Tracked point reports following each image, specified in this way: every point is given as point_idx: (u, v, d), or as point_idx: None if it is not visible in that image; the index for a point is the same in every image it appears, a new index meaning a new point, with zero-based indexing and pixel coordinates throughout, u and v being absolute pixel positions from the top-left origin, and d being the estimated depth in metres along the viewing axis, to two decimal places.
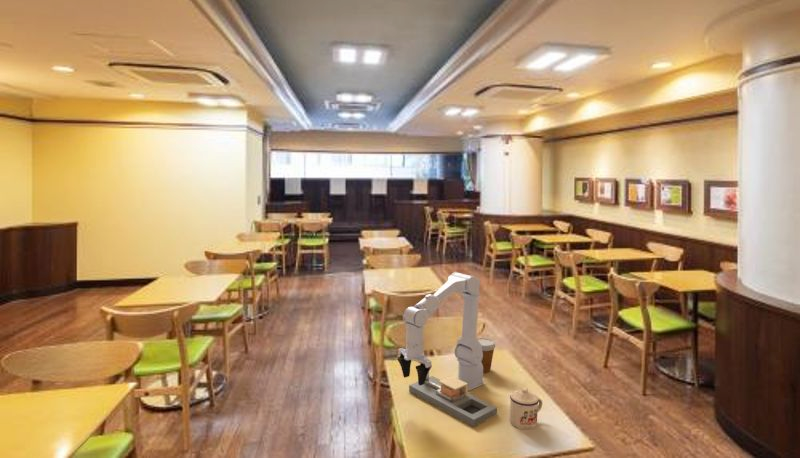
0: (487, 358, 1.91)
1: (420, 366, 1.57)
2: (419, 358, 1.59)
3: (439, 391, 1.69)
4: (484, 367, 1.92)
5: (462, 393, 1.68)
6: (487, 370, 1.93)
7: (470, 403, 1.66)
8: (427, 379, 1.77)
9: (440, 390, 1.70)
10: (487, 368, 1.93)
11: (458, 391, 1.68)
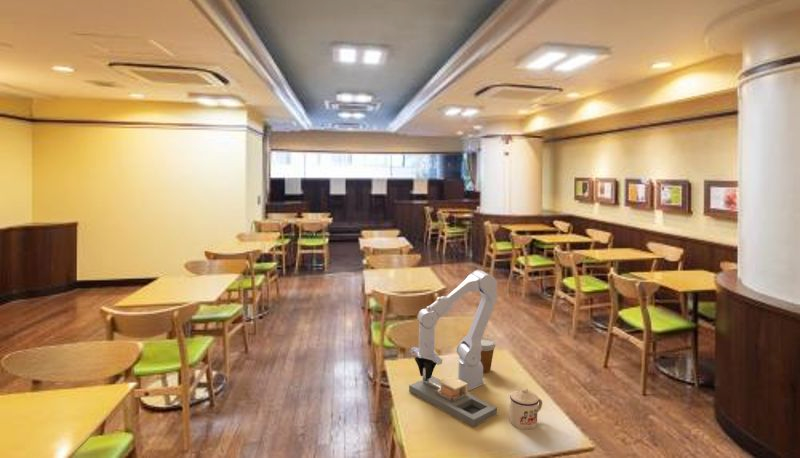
0: (487, 358, 1.91)
1: (432, 363, 1.72)
2: (431, 356, 1.74)
3: (439, 391, 1.69)
4: (484, 367, 1.92)
5: (462, 393, 1.68)
6: (487, 370, 1.93)
7: (470, 403, 1.66)
8: (427, 379, 1.77)
9: (440, 390, 1.70)
10: (487, 368, 1.93)
11: (458, 391, 1.68)
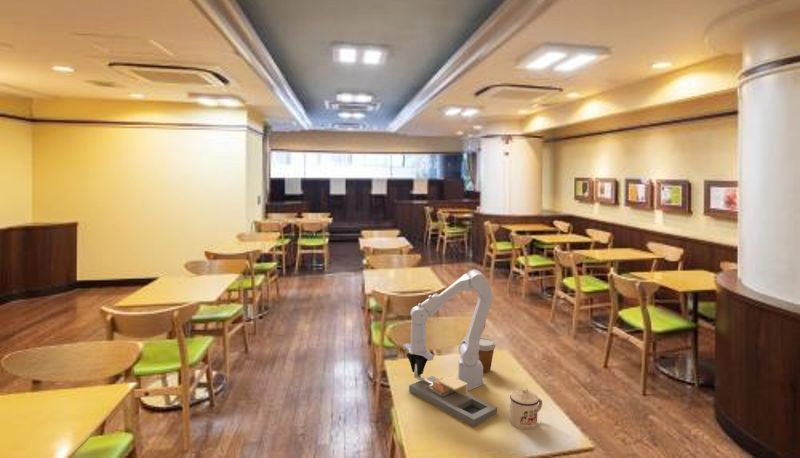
0: (487, 358, 1.91)
1: (423, 359, 1.76)
2: (422, 352, 1.77)
3: (430, 386, 1.73)
4: (484, 367, 1.92)
5: None
6: (487, 370, 1.93)
7: (470, 403, 1.66)
8: None
9: (431, 385, 1.73)
10: (487, 368, 1.93)
11: None
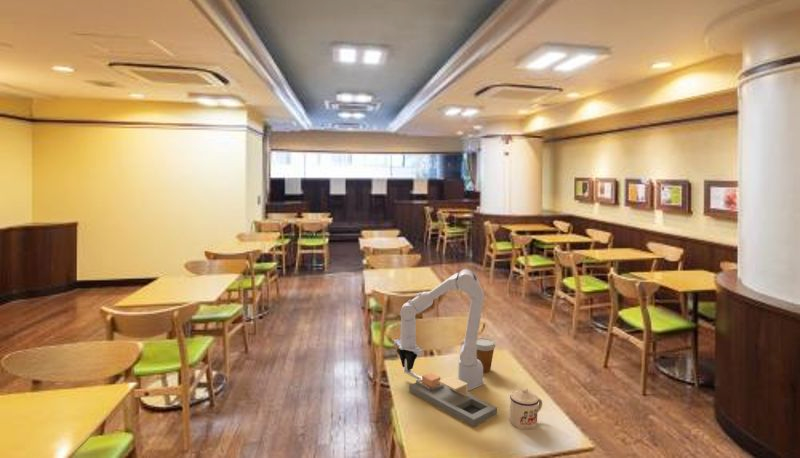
0: (487, 358, 1.91)
1: (413, 354, 1.80)
2: (412, 348, 1.82)
3: (419, 381, 1.77)
4: (484, 367, 1.92)
5: None
6: (487, 370, 1.93)
7: (470, 403, 1.66)
8: None
9: (420, 380, 1.77)
10: (487, 368, 1.93)
11: None
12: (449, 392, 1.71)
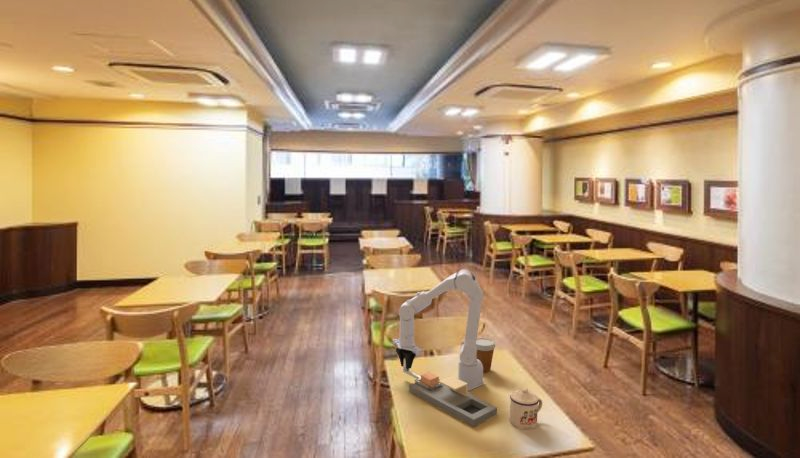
0: (487, 358, 1.91)
1: (411, 354, 1.80)
2: (410, 347, 1.82)
3: (418, 380, 1.78)
4: (484, 367, 1.92)
5: None
6: (487, 370, 1.93)
7: (470, 403, 1.66)
8: (407, 369, 1.85)
9: (419, 379, 1.78)
10: (487, 368, 1.93)
11: (437, 381, 1.75)
12: (449, 392, 1.71)
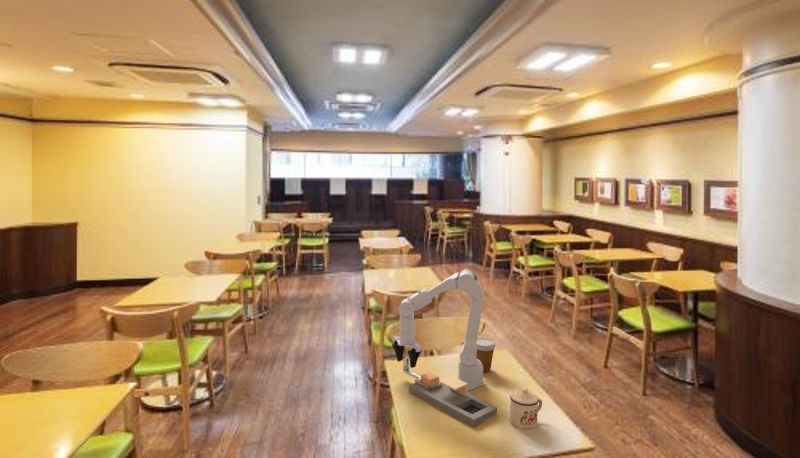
0: (487, 358, 1.91)
1: (411, 351, 1.80)
2: (411, 344, 1.82)
3: (418, 380, 1.78)
4: (484, 367, 1.92)
5: None
6: (487, 370, 1.93)
7: (470, 403, 1.66)
8: (407, 369, 1.85)
9: (419, 379, 1.78)
10: (487, 368, 1.93)
11: (437, 381, 1.75)
12: (449, 392, 1.71)
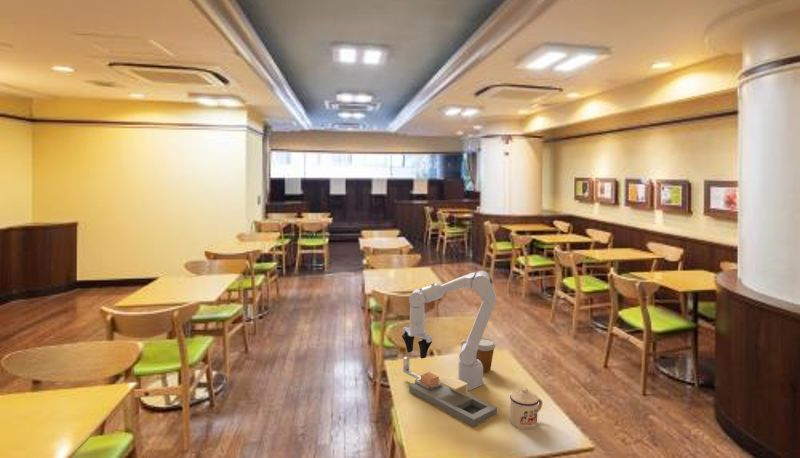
0: (487, 358, 1.91)
1: (422, 341, 1.80)
2: (421, 334, 1.82)
3: (418, 380, 1.78)
4: (484, 367, 1.92)
5: None
6: (487, 370, 1.93)
7: (470, 403, 1.66)
8: (407, 369, 1.85)
9: (419, 379, 1.78)
10: (487, 368, 1.93)
11: (437, 381, 1.75)
12: (449, 392, 1.71)
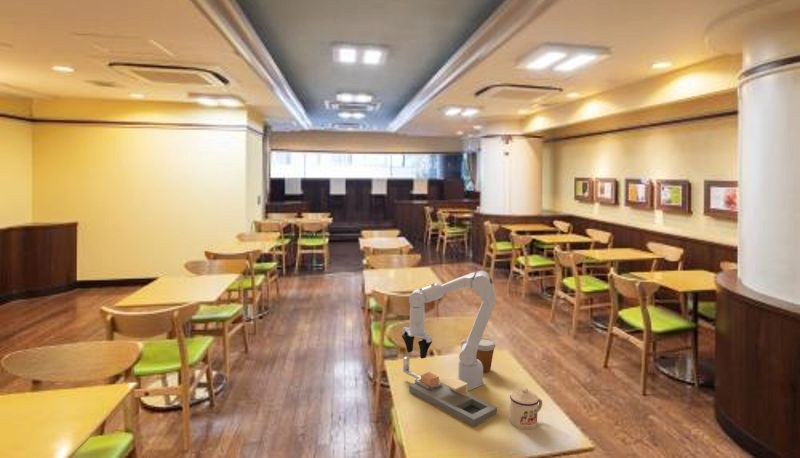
0: (487, 358, 1.91)
1: (422, 341, 1.80)
2: (421, 334, 1.82)
3: (418, 380, 1.78)
4: (484, 367, 1.92)
5: None
6: (487, 370, 1.93)
7: (470, 403, 1.66)
8: (407, 369, 1.85)
9: (419, 379, 1.78)
10: (487, 368, 1.93)
11: (437, 381, 1.75)
12: (449, 392, 1.71)
